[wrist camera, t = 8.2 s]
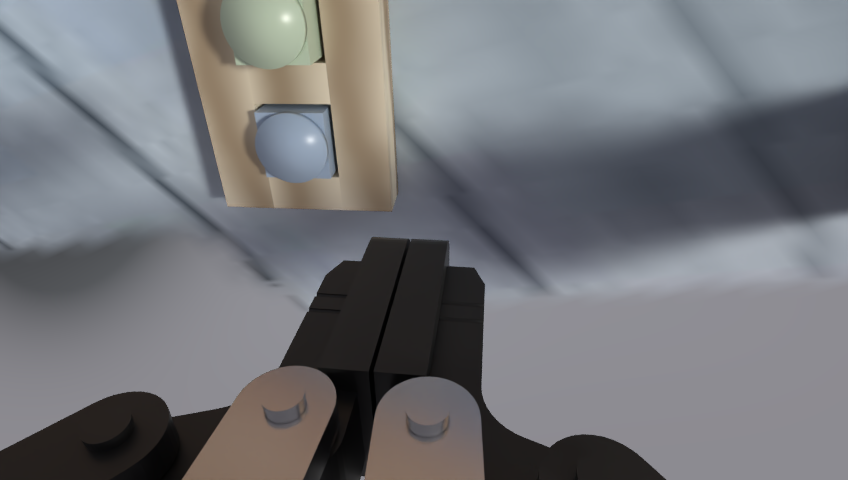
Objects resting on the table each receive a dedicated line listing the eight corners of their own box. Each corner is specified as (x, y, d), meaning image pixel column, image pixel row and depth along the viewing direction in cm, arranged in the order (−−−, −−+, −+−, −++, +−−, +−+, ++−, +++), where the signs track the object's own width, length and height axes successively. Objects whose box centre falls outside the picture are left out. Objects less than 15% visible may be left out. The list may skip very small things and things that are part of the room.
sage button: (314, -28, 29) (296, -24, 26) (324, 57, 31) (309, 69, 28) (236, -26, 29) (211, -22, 26) (252, 57, 31) (230, 69, 29)
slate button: (334, 99, 33) (321, 114, 31) (341, 164, 36) (330, 183, 33) (267, 99, 34) (248, 113, 31) (279, 163, 36) (262, 182, 33)
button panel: (374, -265, 25) (361, -288, 22) (398, 192, 38) (391, 211, 35) (146, -251, 26) (109, -271, 24) (244, 188, 39) (227, 206, 36)
